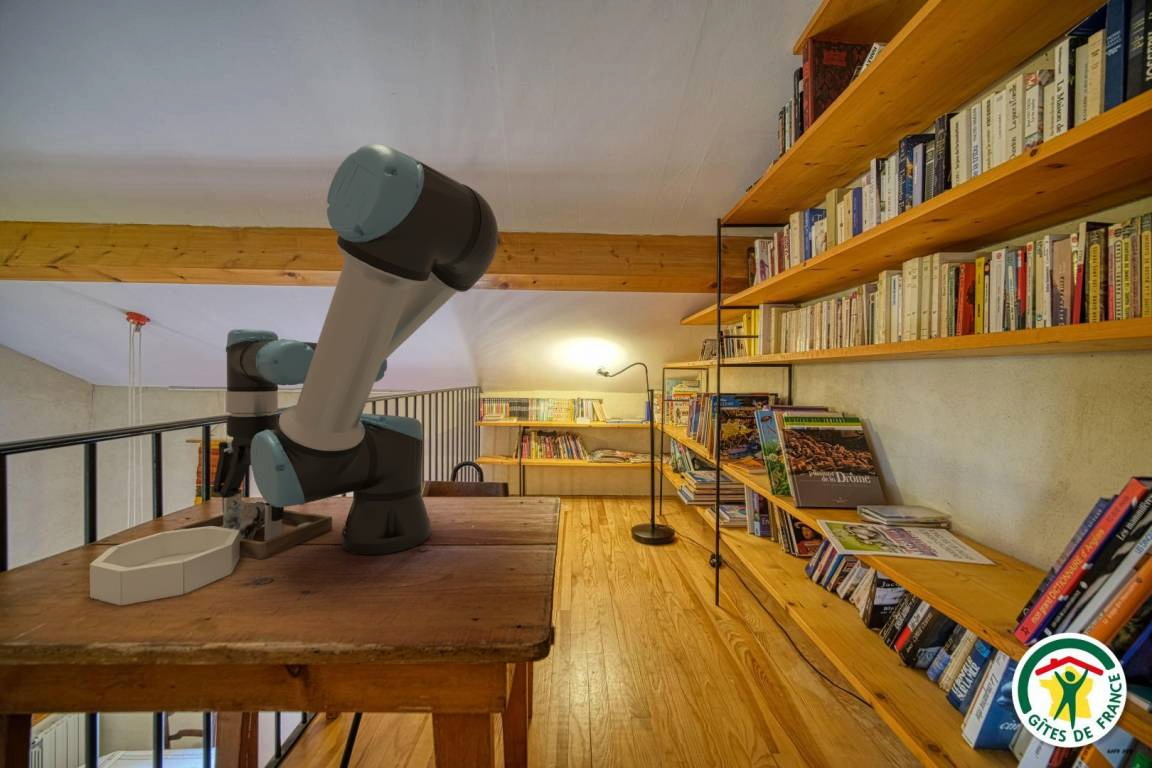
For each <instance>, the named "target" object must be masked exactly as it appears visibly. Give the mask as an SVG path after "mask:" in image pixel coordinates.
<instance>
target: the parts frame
mask: <svg viewBox="0 0 1152 768" xmlns="http://www.w3.org/2000/svg"><path fill="white" fill-rule="evenodd" d="M308 522H313V523H310V524H308V525H305V526H302V527H300V528H297V526H298V525H300V524H303V523H308ZM283 524H284V525H288V526H295V527H296V528H295V529H293V530H290V531H287V532H285V533H282V535H279V536H277V537H274V538H272V539H269V540H264V541H258V540H254V539H253V540H248V539H242V538H240V555H242V556H241V557H244V556H246V558H251V559H255V560H265V559H266V558H269V557H271V556H273V555H276V554H278V553H280V552H282V551H285V550H287V549H290V548H291V547H295V546H296V545H299V544H301V543H303V541H304V542H305V541H306V542H307V541H308V540H311V539H313V538H315V537H317V536H320V535H322V534H325V533H327V532H330V531H331V530H333V516H330V515H329V516H328V515H322V514H315V513H309V512H301V511H295V510H290V509H289V510H288V509H284V517H283V519H282V525H283ZM207 526H216V527H221V526H223V514H219V515H216V516H213V517H210V518H207V519H203V520H199V521H195V522H192V523H190V524H186V525H183V526H180V527H176V528H174V529H173V531H174V530H182V529H191V528H199V527H207Z"/></svg>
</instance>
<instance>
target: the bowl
mask: <svg viewBox="0 0 1152 768" xmlns="http://www.w3.org/2000/svg"><path fill="white" fill-rule="evenodd" d="M240 557H241V556H240V531H239V530H234V529H228V528H222V527H216V526H207V527H199V528H191V529H182V530H174V529H173V530H166V531H161V532H158V533H157V532H156V533H155V534H151V535H147V536H143V537H141V538H137V539H134V540H131V541H127V542H123V543H120V544H118V545H114V546H111V547H109V548H108V549H107V550H105V551H103V552H102V554H100V555H99V556H98V557H97V558H96V559H94V560H93V561H92V562H91V563H89V598H90V597H91V598H90V599H93V598H94V599H93V600H97V599H98V601H101V602H105V603H109V604H113V605H116V606H126V605H132V604H137V603H143V602H147V601H154V600H160V599H165V598H171V597H176V596H182V595H186V594H188V593H191V592H193V591H196V590H197V589H199V588H202V587H204V586H206V585H209V584H211V583H213V582H216V581H218V580H221V579H223V578H225V577H227V576H229V575H231V574H233V572H234V570H235V568H236V566H237V565H238V563H239V560H240Z"/></svg>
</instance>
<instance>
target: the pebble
mask: <svg viewBox="0 0 1152 768" xmlns="http://www.w3.org/2000/svg"><path fill="white" fill-rule="evenodd" d="M310 523H313V522H308V523H303V524H300V525H298V526H296V529H297V528H300V527H302V526H305V525H308V524H310Z"/></svg>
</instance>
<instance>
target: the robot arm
mask: <svg viewBox="0 0 1152 768" xmlns="http://www.w3.org/2000/svg"><path fill="white" fill-rule="evenodd" d="M326 202H327V204H328V205H329V206H328V207H327V209H326V216H327V219H328V223H329V225H330V227H331V229H332V230H333V231H334V232H335V233H336V234H337V235H338V237H337V239H336V242H335V243H336V246H337V248H338V250H339V252H340V254H341V255H342V257H343V259H344V262H343V266H342V267H341V271H340V275H339V277H338V280H337V283H336V286H335V290H334V292H333V295H332V298H331V301H330V304H329V308H328V311H327V313H326V316H325V319H324V322H323V326H322V327H321V331H320V334H319V337H318V340H317V342H310V341H309V342H308V341H299V340H296V339H285V338H282V339H279V336H278V334H277V333H276V332H275V331H271V330H262V329H248V328H247V329H246V328H244V329H243V328H242V329H240V328H237V329H235V328H234V329H231V330H230V331H229V332H228V333H227V339H226V340H227V341H226V347H225V352H226V386H227V387H226V407H225V409H226V413H228V414H230V415H228V417H226V435H227V436H228V437H230V438H232V440H227V441H220V442H219V443H218V451H219V452H218V460H217V465H216V470H215V475H214V480H213V481H214V482H213V485H212V492H213V493H215V494H216V493H218V494H219V496H220V498H221V499H222V513H223V514H222V515H223V525H224V524H225V523H226V521H224V516H225V514H226V512H227V509H228V508H229V506H230V504H229V503H231V502H232V501H234V500H242V494H240V493H242V492H243V491H242V490H241V489H240V488H241V485H242V483H243V481H244V478H245V477H246V474H247V472H248V470H249V467H251V470H252V471H251V472H252V475H253V478H254V479H253V480H254V482H255V485H256V487H257V489H258V492H259V494H260V495H261V497H262V498H263V499H264V501H265V502H264V503H265V525H264V541H267V540H269V539H272V538H274V537H277V536H279V535H282V534H283V524H282V519H283V517H284V510H285V509H284V508H287V507H294V506H302V505H305V504H308V503H313V502H316V501H320V500H325V499H328V498H333V497H336V496H340V495H344V494H349V493H353V495H352V503H351V506H350V509H349V511H348V513H347V516H346V521H345V525H343V529H342V531H341V547H342V548H343V549H344V550H345V551H347V552H350V553H353V554H358V555H384V554H391V553H392V554H393V553H397V552H402V551H405V550H409V549H411V548H413V547H417V546H418V545H421V544H422V543H424V542H425V541H427V539H429V537H430V536H431V519H430V517H429V515H428V512H427V508H426V505H425V501H424V498H423V495H422V481H423V478H422V474H423V473H422V467H423V465H422V464H423V443H424V438H423V426H422V423H421V421H420V420H419V419H417V418H415V417H410V416H409V417H408V416H400V415H390V414H389V415H388V414H377V413H375V414H374V413H363V412H364V410H365V407H366V404H367V402H368V399H369V396H370V394H371V393H372V391H373V390H372V389H373V387H374V384H375V383H377V382H379V381H381V380H382V379H383V378H384V377H385V372H386V371H387V370H388V369H387V368H388V360H387V359H388V358H389V357H391V355H392V354H393V353H394V352H395V351H396V350H398V348H400V346H401V345H402V344H404V343H405V342H406V341H407V340H408V339H409V338H410V337H411V336H412V335H413V334H414V333H415V332H416V331H417V330H419V328H421V326H422V325H424V324H425V323H426V322H427V321H428V320H429V319H430V318H431V317H432V316H433V315H434V314H435V313H436V312H437V311H439V310H440V308H441V307H442V306H444V305H445V304H446V303H447V302H448V301H449V300H450V299H451V298H452V297H453V296H454V295H455V294H456V293H466V292H468V291H469V290H470V289H471V288H473V286H474V285H475V284H477V283H478V281H480V280H481V279H482V278H483V277H484V276H485V274H486V273H487V271H488V269H489V268H490V266H491V264H492V262H493V261H494V258H495V255H496V253H497V248H498V245H499V243H498V242H499V228H498V223H497V219H496V216H495V213H494V211H493V210H492V208H491V205H490V204H489V203H488V201H487V200H486V199H485V198H484V197H483V195H481V194H480V193H479V192H477V191H476V190H475V189H473V188H472V187H470V186H468V185H466V184H462V183H460V182H459V181H457V180H455V179H453V178H452V177H450V176H448V175H445V174H444V173H442V172H440V171H438V170H437V169H435V168H433V167H431V166H429V165H427V164H425V163H424V162H422V161H420V160H418V159H416V158H415V157H414V156H413V155H409V154H407V153H403V152H401V151H399V150H397V149H394V148H392V147H390V146H387V145H384V144H378V143H371V144H366V145H363V146H360V147H359V148H358V149H357V150H354V151H352V152H351V153H350V154H348V156H347V157H346V158H345V159H344V160H343V161H342V162H341V164H339V166H338V168H337V170H336V172H335V173H334V175H333V177H332V180H331V183H330V186H329V188H328V192H327V198H326ZM295 385H302V387H301V390H300V394H299V396H298V399H297V403H296V404H295V405H292V406H289V407H288V408H286V409H284V411H282V412H281V414H280V415H279V416H278V415H277V413H276V412H277V411H278V410H279V409H278V408H279V407H278V406H279V405H278V404H279V403H278V400H279V399H278V397H279V396H278V391H279V386H295Z"/></svg>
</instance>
